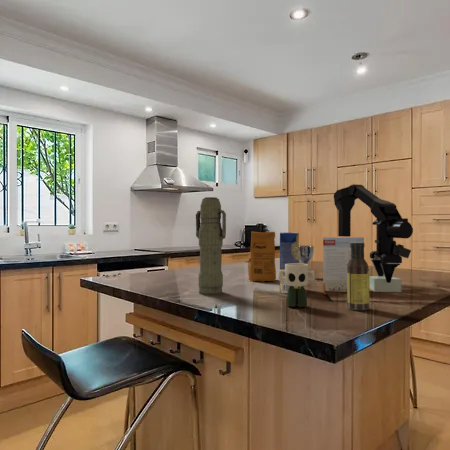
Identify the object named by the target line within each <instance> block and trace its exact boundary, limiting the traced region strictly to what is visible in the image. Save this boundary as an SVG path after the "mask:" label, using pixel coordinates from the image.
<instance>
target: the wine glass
mask: <svg viewBox="0 0 450 450" xmlns="http://www.w3.org/2000/svg"><path fill="white" fill-rule="evenodd" d="M314 250H315V246H314V245H299V262H301V263H302V264H308V265H309V263H310V261H311V260H312V259H313V257H314V252H315V251H314ZM309 278H312V276H309Z"/></svg>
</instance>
